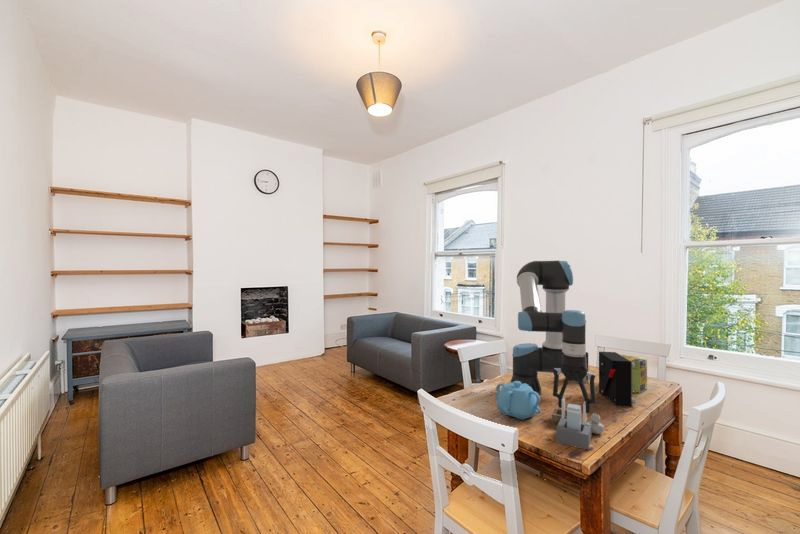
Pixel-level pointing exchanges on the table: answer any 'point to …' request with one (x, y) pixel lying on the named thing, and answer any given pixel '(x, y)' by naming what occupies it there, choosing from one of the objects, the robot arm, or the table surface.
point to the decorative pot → (517, 400)
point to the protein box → (638, 373)
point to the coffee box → (586, 369)
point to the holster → (557, 416)
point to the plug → (574, 417)
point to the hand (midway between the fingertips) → (573, 419)
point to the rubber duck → (596, 424)
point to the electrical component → (616, 378)
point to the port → (573, 434)
